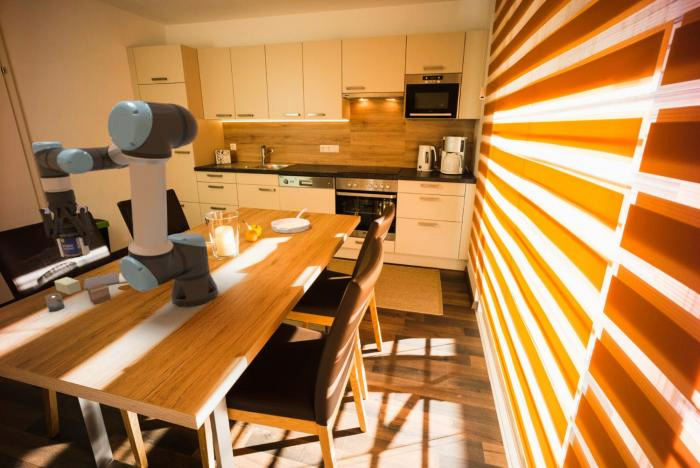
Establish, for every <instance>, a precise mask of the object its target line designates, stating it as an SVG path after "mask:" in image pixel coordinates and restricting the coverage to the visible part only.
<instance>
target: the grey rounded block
mask: <svg viewBox="0 0 700 468" xmlns="http://www.w3.org/2000/svg"><path fill="white" fill-rule="evenodd" d="M61 293H62V292H53V293H48V294H47V295H45V296H44V300H45V302H46V306H47V309H48V312H50V313H56V312H60V311H61V310H63V309H65V304H64V300H63V296H62V294H61Z"/></svg>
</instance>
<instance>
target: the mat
mask: <svg viewBox="0 0 700 468" xmlns="http://www.w3.org/2000/svg"><path fill="white" fill-rule="evenodd" d="M119 275H120V274H119V272H112V273H108V274H103V275H98V276H92V277H87V278H85V279H84V283H83V288H82V289H83V291H88V290H87V288H88V287H92V286H95V285H99V284H102V283H105V284H106V285H107V286H108V287H109V286H111V285H112V286H113V285H117V284H120V276H119Z"/></svg>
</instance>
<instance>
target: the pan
mask: <svg viewBox="0 0 700 468" xmlns="http://www.w3.org/2000/svg"><path fill="white" fill-rule="evenodd" d="M308 210H309V209H308V208H303V209H302V210H300V212H299V213H298V215H296V217H290V218H288V217H287V218H280V219H276V220H273V221H271V222H270V225H271V230H272V231H273V232H275V233H278V234H297V233H302V232H305V231H307V230H309V228H310V225H311V223H310V221H309V220H308V219H306V218H302V217H301V216H302V215H303V213H305V212H307V211H308Z"/></svg>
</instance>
